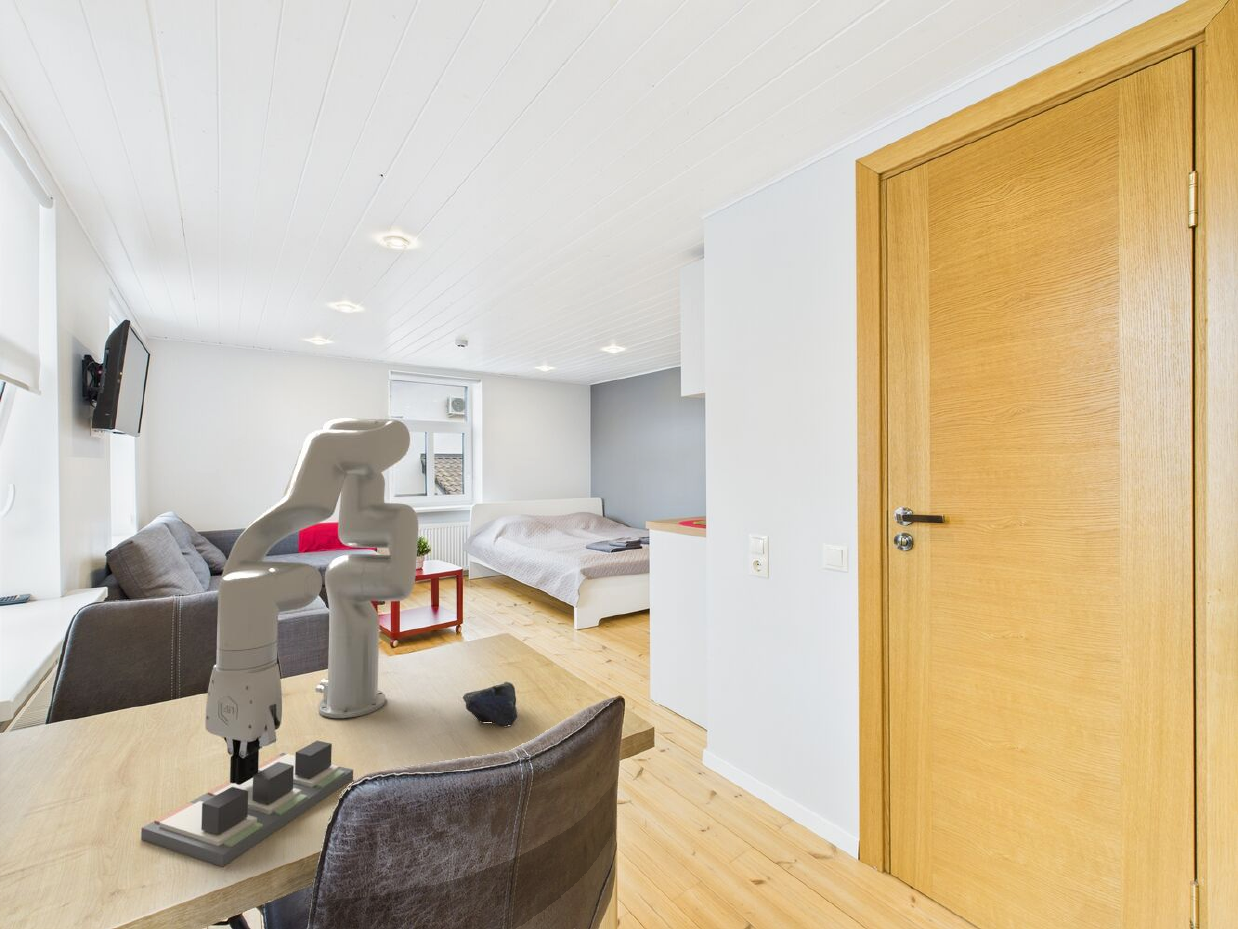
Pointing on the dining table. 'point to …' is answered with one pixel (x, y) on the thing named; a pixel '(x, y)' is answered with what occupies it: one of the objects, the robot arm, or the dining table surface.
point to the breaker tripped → (272, 783)
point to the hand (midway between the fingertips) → (244, 779)
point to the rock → (493, 704)
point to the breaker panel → (263, 820)
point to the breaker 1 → (224, 810)
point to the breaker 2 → (313, 759)
